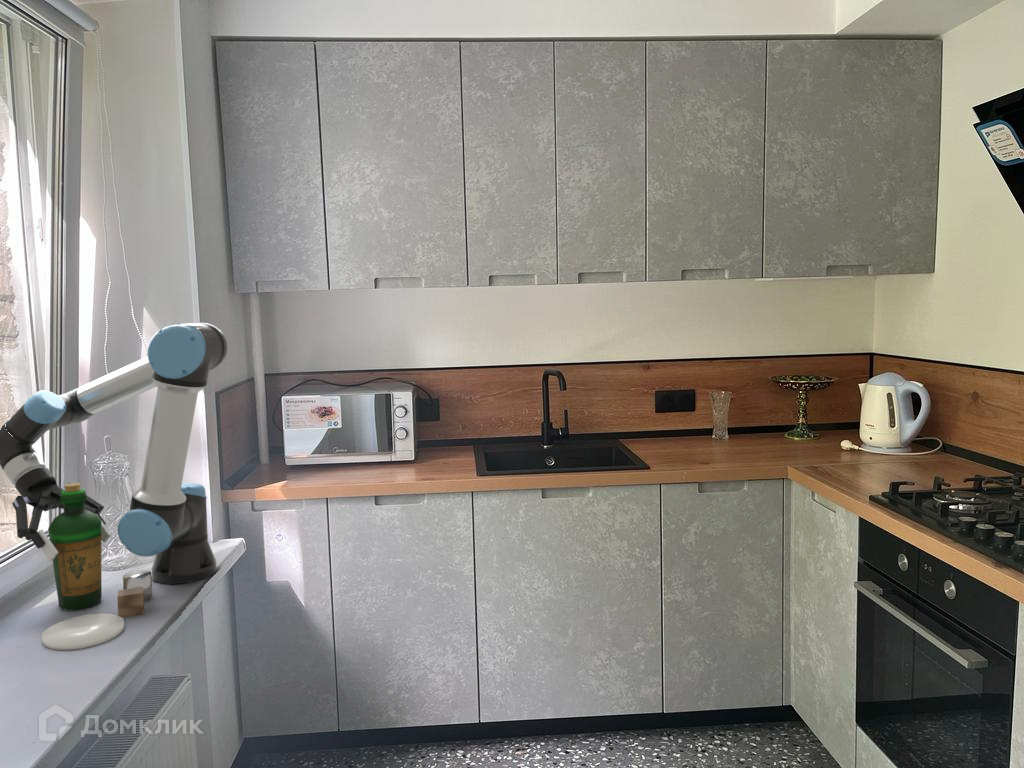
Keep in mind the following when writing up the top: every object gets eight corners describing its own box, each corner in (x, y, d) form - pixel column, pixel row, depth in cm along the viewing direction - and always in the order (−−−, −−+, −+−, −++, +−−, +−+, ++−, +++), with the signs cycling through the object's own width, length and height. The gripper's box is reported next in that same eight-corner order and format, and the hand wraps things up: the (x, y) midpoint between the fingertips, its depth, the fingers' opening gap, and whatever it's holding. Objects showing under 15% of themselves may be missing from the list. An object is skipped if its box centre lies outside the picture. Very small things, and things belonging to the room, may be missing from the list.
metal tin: (153, 593, 184) (151, 568, 183) (152, 602, 178) (150, 577, 177) (124, 596, 181) (123, 572, 181) (123, 606, 176) (121, 580, 175)
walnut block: (144, 608, 175) (143, 586, 174) (143, 614, 171) (142, 593, 171) (119, 611, 173) (118, 590, 172) (118, 618, 169) (117, 596, 169)
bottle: (77, 616, 170) (69, 492, 167) (42, 609, 174) (33, 488, 170) (117, 598, 180) (110, 481, 177) (83, 592, 184) (75, 477, 180)
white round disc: (126, 614, 171) (126, 609, 171) (121, 642, 157) (121, 636, 157) (48, 625, 165) (47, 620, 165) (36, 655, 152) (35, 649, 151)
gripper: (-17, 478, 166) (37, 554, 162) (86, 455, 189) (135, 522, 185) (-31, 499, 168) (21, 575, 164) (72, 475, 191) (120, 541, 187)
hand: (82, 547), depth 175 cm, fingers open, 13 cm apart
